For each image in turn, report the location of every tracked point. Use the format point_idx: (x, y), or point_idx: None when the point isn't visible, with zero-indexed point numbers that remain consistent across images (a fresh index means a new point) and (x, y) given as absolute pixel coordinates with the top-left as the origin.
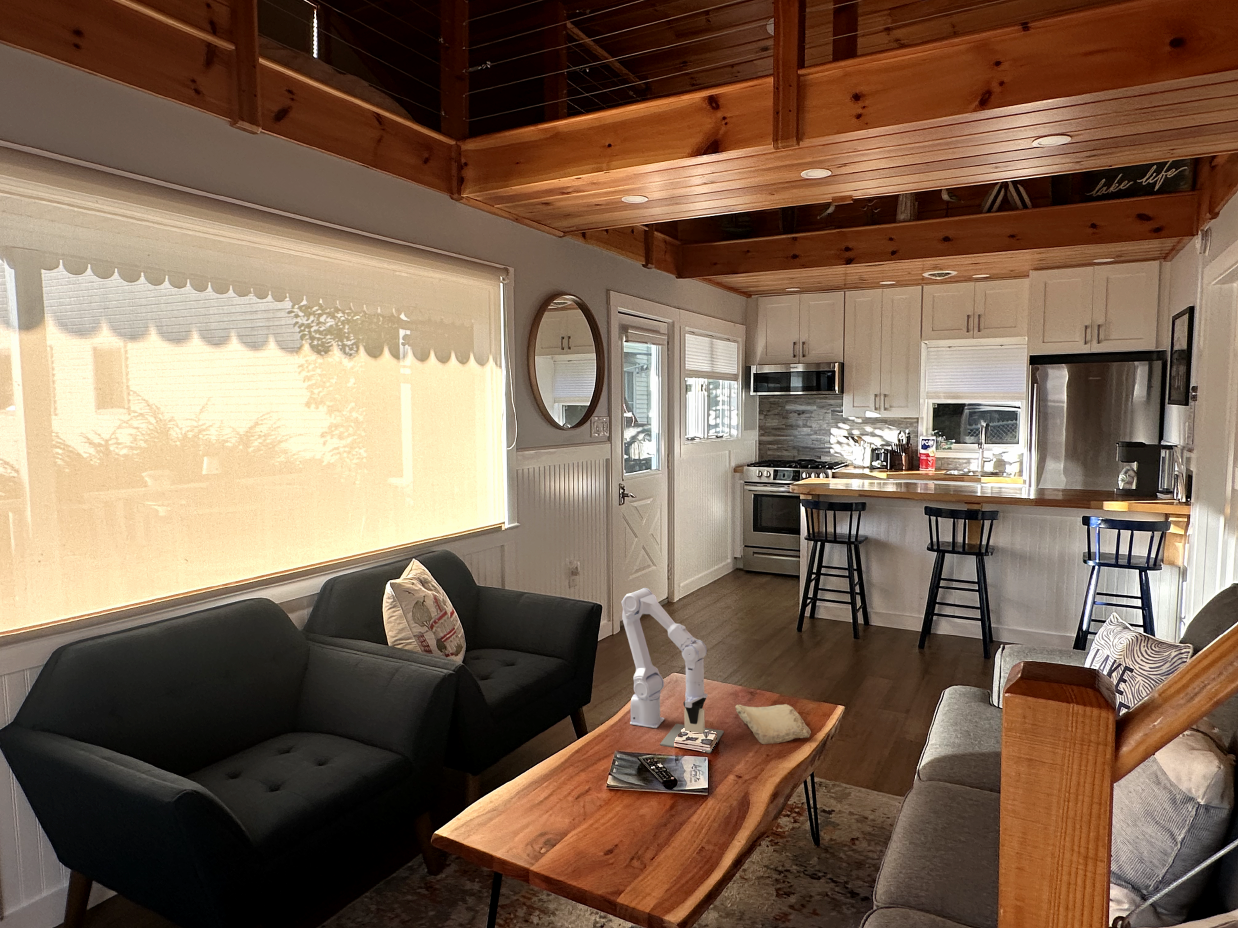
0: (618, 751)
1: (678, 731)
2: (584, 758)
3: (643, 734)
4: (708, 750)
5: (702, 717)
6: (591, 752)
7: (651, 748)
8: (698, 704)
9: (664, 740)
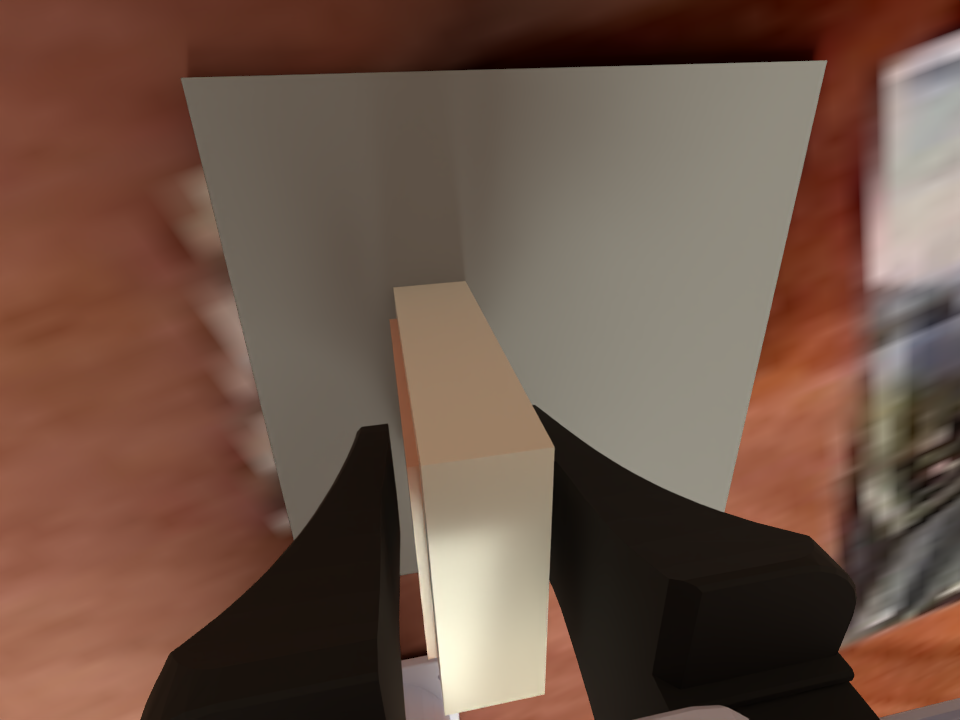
0: None
1: None
2: (911, 700)
3: (575, 657)
4: (795, 91)
5: (520, 385)
6: None
7: None
8: (769, 619)
9: None
